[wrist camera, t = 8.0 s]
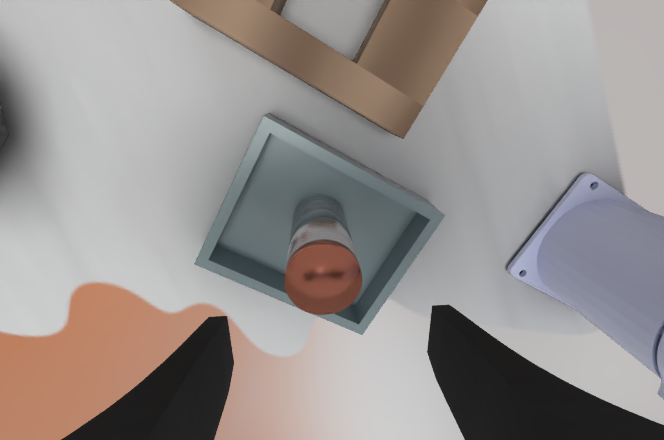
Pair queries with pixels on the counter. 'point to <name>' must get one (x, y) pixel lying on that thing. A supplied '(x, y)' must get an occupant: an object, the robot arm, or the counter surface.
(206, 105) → the counter surface
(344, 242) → the spice jar
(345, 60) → the block
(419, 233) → the tray
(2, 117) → the mortar and pestle
